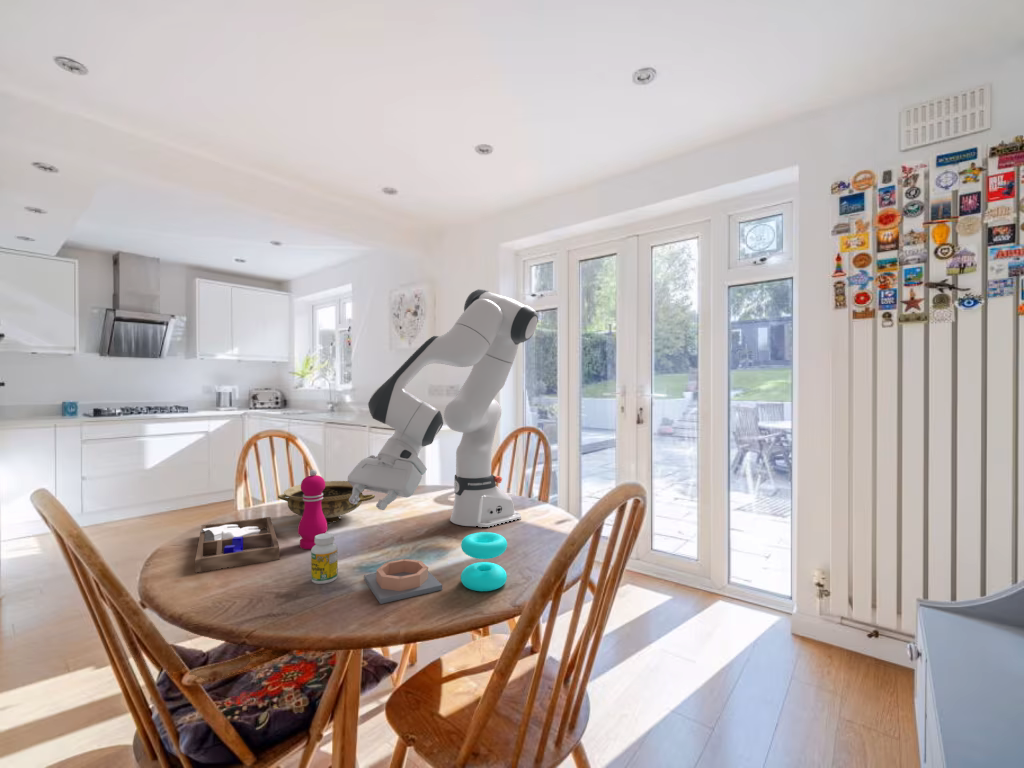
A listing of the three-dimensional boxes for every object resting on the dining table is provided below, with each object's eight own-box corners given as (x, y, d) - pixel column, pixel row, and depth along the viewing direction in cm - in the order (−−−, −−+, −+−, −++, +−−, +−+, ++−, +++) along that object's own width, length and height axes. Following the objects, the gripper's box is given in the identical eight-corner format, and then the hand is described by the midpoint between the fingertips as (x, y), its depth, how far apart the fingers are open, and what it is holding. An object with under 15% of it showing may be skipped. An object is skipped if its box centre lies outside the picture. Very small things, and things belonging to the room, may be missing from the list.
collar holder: (420, 568, 111) (421, 553, 111) (442, 589, 100) (442, 573, 100) (364, 579, 104) (364, 563, 104) (380, 604, 93) (380, 586, 93)
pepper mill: (316, 551, 121) (317, 472, 121) (291, 548, 123) (292, 471, 123) (332, 541, 128) (333, 467, 128) (308, 539, 130) (309, 466, 130)
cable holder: (240, 563, 113) (240, 546, 113) (223, 564, 113) (224, 547, 113) (249, 551, 121) (249, 535, 121) (234, 552, 120) (234, 536, 120)
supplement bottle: (342, 576, 106) (343, 533, 106) (325, 586, 101) (325, 541, 101) (323, 572, 108) (323, 530, 108) (305, 582, 103) (305, 537, 103)
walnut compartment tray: (270, 526, 141) (270, 516, 141) (279, 559, 116) (279, 546, 116) (201, 536, 132) (201, 525, 132) (195, 573, 107) (195, 559, 107)
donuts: (496, 548, 97) (452, 541, 100) (495, 597, 97) (452, 588, 100) (514, 533, 106) (473, 528, 110) (513, 578, 106) (473, 571, 110)
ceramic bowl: (385, 510, 159) (385, 480, 159) (360, 533, 136) (360, 498, 135) (297, 508, 161) (297, 479, 160) (256, 531, 137) (256, 496, 137)
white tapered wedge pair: (230, 551, 121) (269, 539, 131) (231, 534, 121) (269, 523, 131) (200, 544, 126) (239, 532, 136) (200, 528, 126) (239, 518, 136)
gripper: (361, 447, 125) (329, 492, 116) (419, 454, 114) (389, 504, 106) (374, 462, 128) (344, 506, 120) (432, 470, 118) (403, 519, 109)
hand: (365, 505), depth 113 cm, fingers open, 8 cm apart
